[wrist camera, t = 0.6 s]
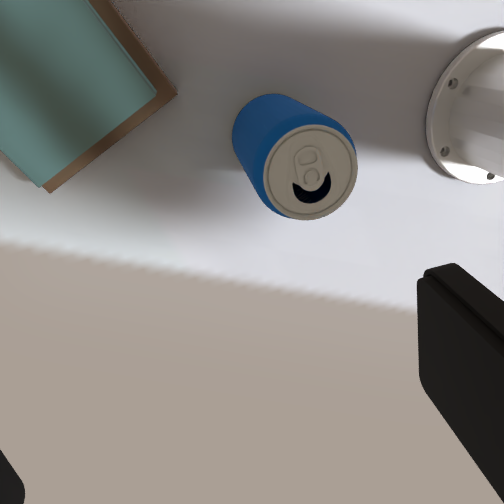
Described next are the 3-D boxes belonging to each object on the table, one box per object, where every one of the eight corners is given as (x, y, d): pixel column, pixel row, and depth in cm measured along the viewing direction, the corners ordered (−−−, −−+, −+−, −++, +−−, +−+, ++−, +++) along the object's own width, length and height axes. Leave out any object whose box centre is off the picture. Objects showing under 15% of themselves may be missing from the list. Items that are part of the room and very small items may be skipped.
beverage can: (242, 182, 37) (270, 239, 27) (221, 105, 34) (243, 136, 24) (314, 160, 38) (371, 209, 27) (300, 82, 35) (357, 102, 24)
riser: (57, -72, 28) (33, -95, 23) (177, 90, 33) (177, 99, 28) (-78, 46, 30) (-127, 48, 25) (57, 184, 35) (39, 207, 30)
